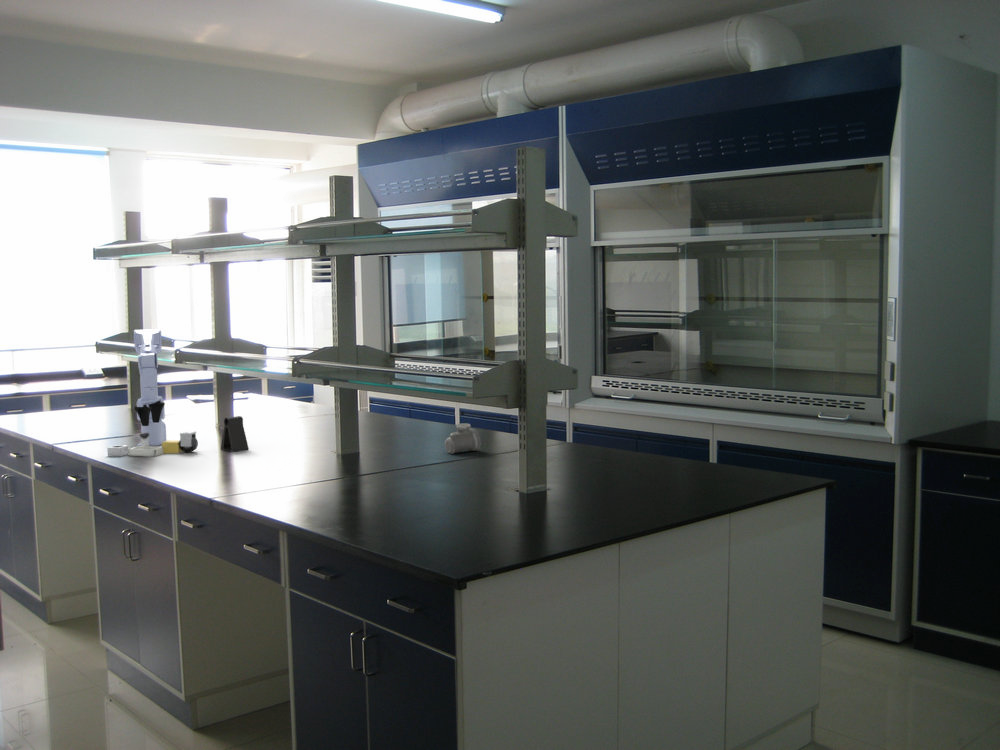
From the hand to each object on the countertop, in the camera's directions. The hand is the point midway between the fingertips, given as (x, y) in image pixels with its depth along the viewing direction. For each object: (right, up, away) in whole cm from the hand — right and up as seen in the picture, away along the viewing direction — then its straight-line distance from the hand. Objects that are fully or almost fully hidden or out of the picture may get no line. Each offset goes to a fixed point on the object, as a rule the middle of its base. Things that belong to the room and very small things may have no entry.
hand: (150, 424), depth 324 cm
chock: (+7, -10, +1) cm, 13 cm away
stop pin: (0, -10, -4) cm, 11 cm away
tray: (0, -11, -4) cm, 11 cm away
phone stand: (+29, -10, +5) cm, 31 cm away
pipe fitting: (+112, -10, -3) cm, 113 cm away
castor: (+13, -10, +1) cm, 17 cm away
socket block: (-10, -11, -4) cm, 15 cm away
